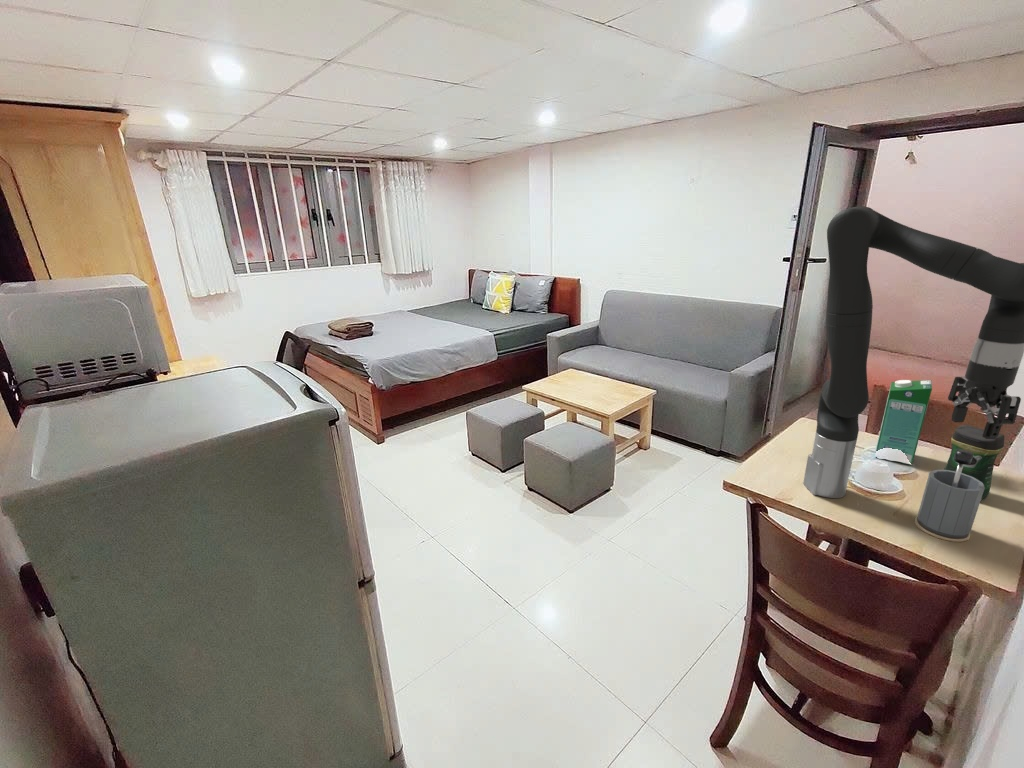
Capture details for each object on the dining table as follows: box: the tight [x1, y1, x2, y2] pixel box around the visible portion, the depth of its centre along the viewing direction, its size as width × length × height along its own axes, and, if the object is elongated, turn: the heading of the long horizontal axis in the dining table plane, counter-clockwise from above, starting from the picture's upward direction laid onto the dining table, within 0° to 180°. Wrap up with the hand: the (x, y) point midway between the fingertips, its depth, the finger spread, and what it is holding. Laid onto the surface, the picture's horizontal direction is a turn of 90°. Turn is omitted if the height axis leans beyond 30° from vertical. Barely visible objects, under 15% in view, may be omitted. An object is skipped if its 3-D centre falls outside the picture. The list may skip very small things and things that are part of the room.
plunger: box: [952, 449, 974, 487], centre depth 109 cm, size 7×7×19 cm
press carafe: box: [914, 469, 985, 543], centre depth 111 cm, size 10×10×14 cm
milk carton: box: [875, 379, 933, 465], centre depth 142 cm, size 9×9×25 cm
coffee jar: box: [943, 424, 1005, 500], centre depth 124 cm, size 10×8×19 cm
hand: (972, 429), depth 104 cm, fingers open, 8 cm apart
